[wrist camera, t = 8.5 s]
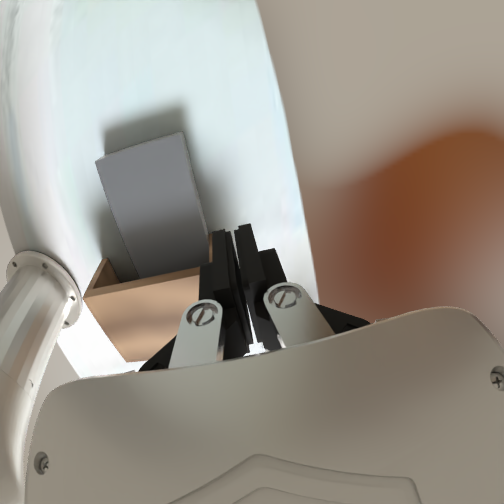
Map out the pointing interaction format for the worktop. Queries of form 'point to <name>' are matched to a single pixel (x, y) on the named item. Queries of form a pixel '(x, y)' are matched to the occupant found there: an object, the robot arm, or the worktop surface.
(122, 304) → the open wooden box
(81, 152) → the worktop surface
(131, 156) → the board
